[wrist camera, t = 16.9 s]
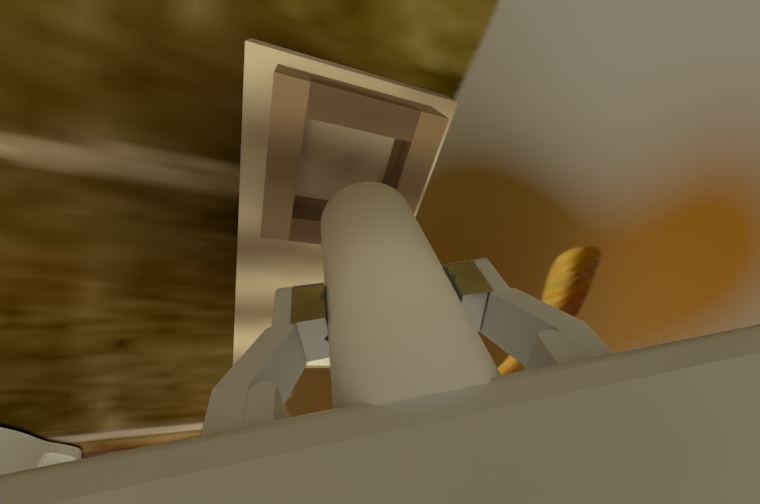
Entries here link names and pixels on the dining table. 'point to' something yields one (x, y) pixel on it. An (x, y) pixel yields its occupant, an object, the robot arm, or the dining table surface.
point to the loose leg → (391, 305)
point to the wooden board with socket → (317, 164)
